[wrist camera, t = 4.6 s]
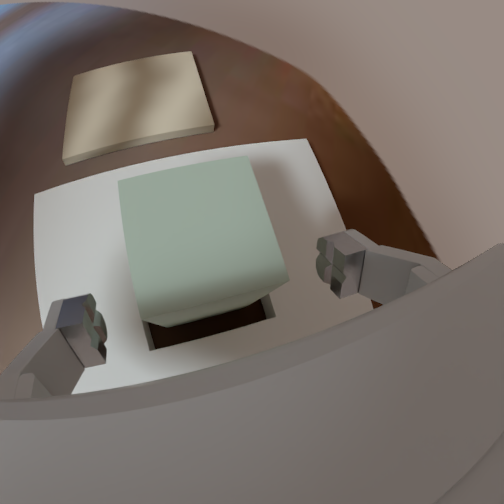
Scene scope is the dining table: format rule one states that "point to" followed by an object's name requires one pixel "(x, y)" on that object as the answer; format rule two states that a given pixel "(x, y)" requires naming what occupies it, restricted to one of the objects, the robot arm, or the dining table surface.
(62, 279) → the holder
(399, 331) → the robot arm
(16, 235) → the dining table surface
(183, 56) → the pad
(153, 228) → the block
